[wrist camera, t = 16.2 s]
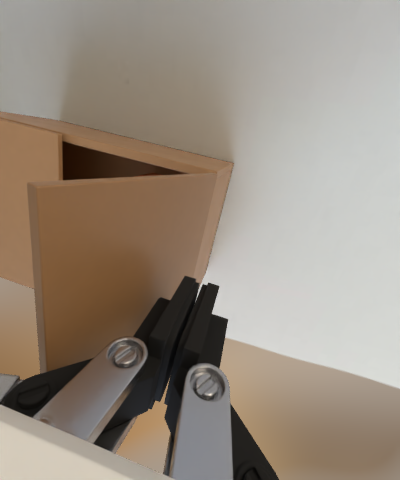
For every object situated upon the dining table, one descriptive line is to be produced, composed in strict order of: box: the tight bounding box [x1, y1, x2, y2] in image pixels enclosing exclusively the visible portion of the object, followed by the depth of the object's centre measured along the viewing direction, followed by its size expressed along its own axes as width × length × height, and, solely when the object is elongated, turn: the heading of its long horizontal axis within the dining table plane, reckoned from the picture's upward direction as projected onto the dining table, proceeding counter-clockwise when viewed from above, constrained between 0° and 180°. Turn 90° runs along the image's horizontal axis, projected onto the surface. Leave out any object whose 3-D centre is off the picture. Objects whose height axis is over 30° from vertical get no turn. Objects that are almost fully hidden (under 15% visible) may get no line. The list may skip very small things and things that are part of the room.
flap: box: [27, 173, 217, 374], centre depth 11 cm, size 9×11×1 cm
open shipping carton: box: [0, 112, 234, 289], centre depth 20 cm, size 18×12×10 cm, turn 78°
